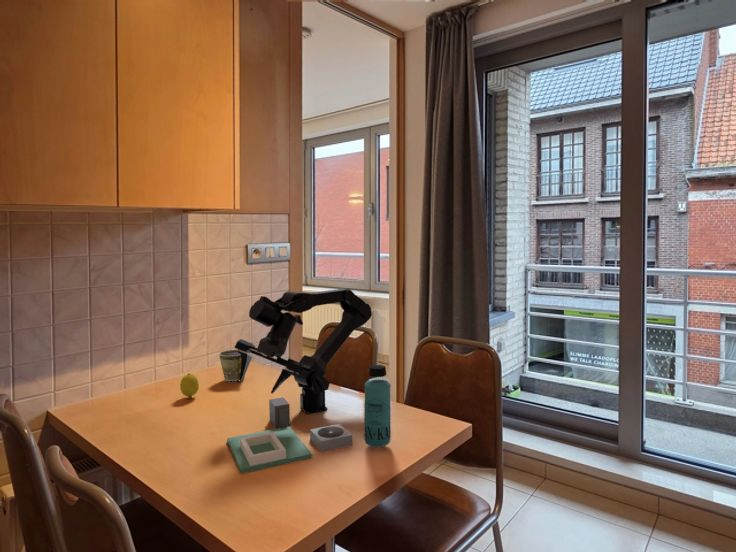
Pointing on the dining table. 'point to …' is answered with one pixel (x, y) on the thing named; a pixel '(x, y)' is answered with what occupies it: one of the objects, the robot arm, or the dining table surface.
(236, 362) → the ceramic cup
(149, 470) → the dining table surface
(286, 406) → the plug
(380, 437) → the beverage bottle
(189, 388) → the lemon
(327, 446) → the grey square block
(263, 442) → the board
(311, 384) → the robot arm
